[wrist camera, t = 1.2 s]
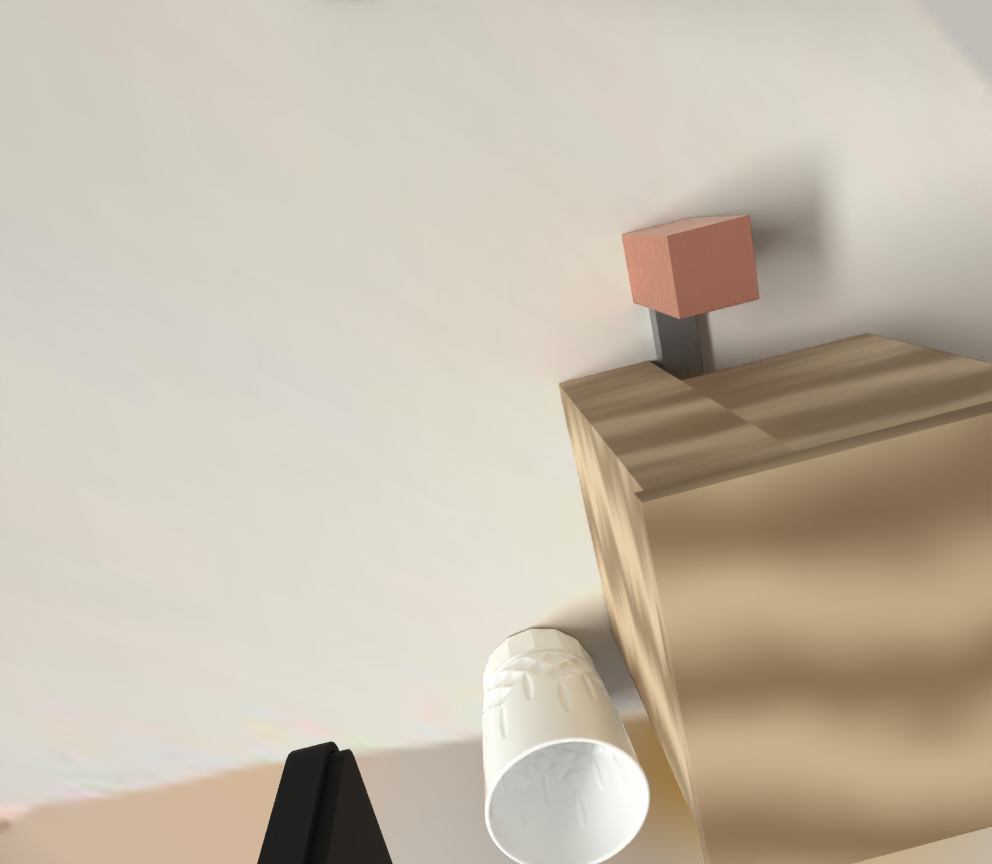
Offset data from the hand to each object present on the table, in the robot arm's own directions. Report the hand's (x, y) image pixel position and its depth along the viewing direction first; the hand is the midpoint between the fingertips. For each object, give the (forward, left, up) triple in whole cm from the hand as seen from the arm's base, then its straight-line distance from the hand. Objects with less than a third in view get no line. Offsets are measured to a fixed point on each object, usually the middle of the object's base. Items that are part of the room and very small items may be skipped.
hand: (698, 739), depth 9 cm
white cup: (+19, -2, -28) cm, 34 cm away
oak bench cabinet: (+10, +10, -28) cm, 31 cm away
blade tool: (+6, +9, -28) cm, 30 cm away
